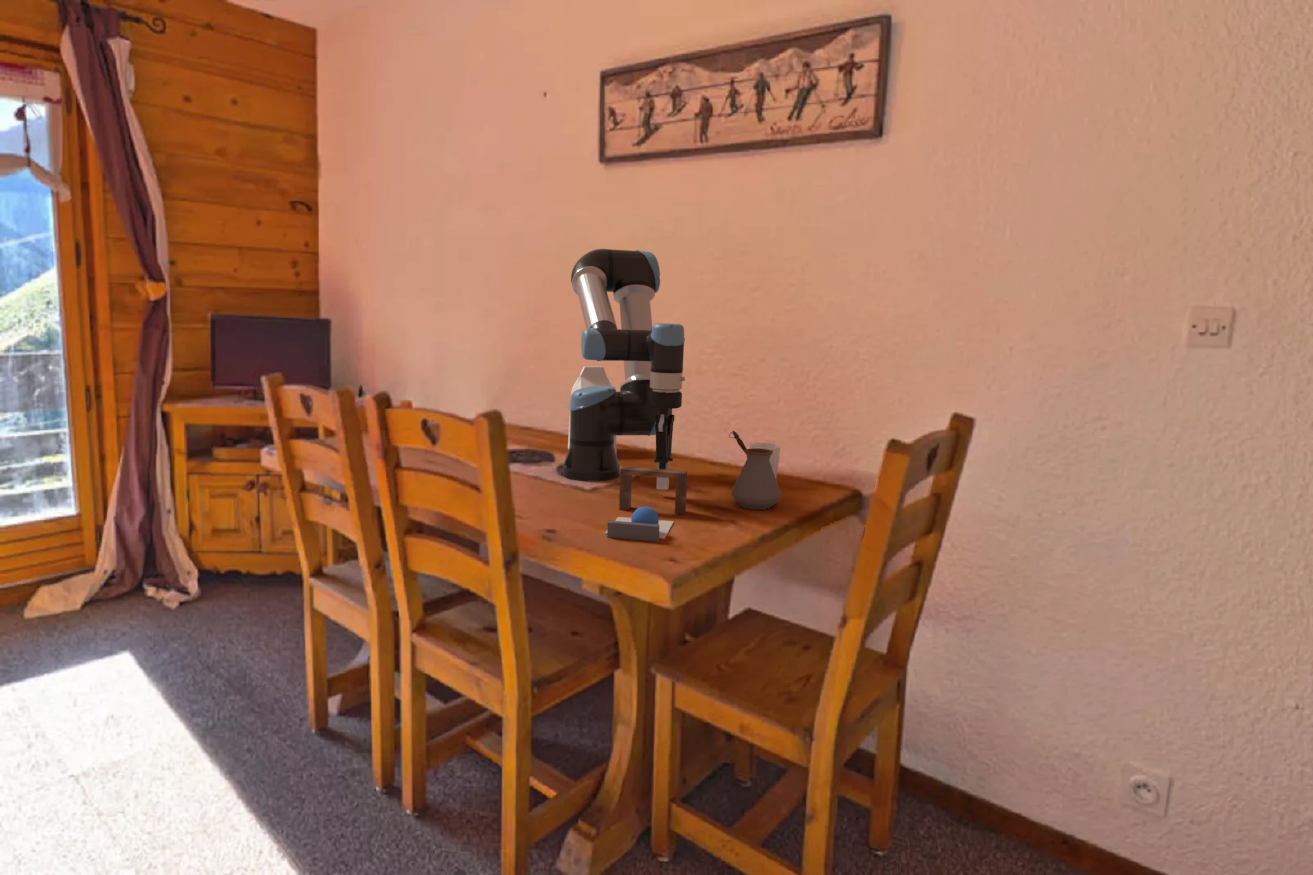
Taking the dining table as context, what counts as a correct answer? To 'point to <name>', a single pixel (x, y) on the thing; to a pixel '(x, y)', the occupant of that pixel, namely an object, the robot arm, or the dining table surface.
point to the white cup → (774, 457)
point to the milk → (591, 385)
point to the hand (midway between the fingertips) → (662, 488)
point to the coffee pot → (756, 479)
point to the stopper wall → (633, 530)
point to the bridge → (651, 472)
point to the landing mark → (663, 525)
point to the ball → (645, 516)
